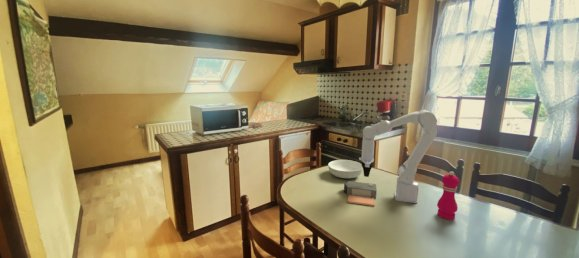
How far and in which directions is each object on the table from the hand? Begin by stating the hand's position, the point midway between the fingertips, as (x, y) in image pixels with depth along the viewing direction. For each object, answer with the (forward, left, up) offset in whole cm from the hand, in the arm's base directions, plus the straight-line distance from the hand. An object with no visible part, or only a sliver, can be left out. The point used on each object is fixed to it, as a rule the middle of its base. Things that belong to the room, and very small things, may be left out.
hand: (366, 176), depth 122 cm
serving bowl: (+12, -22, -10) cm, 27 cm away
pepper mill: (-33, +12, -10) cm, 36 cm away
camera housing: (+2, +1, -9) cm, 10 cm away
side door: (+2, +6, -9) cm, 11 cm away
